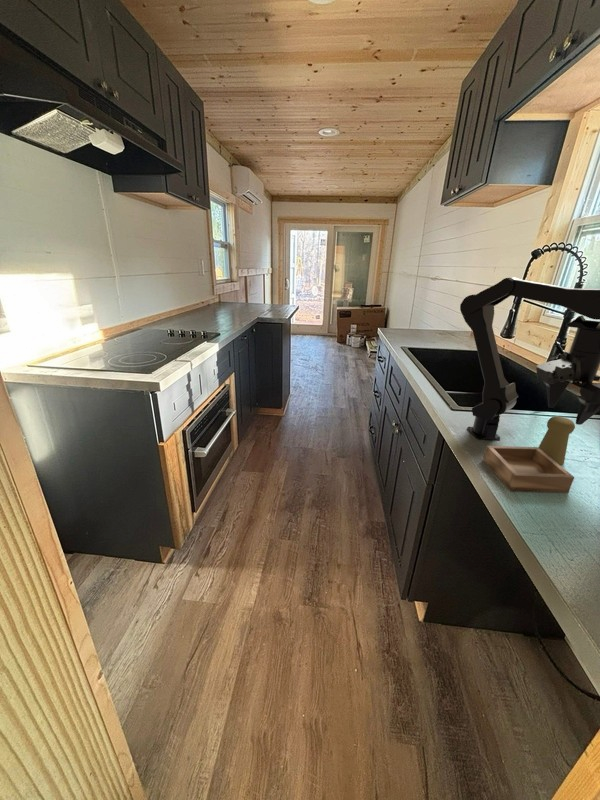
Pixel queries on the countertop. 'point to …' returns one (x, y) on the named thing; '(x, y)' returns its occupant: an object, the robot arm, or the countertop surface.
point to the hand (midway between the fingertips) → (563, 415)
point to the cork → (557, 438)
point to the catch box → (527, 469)
